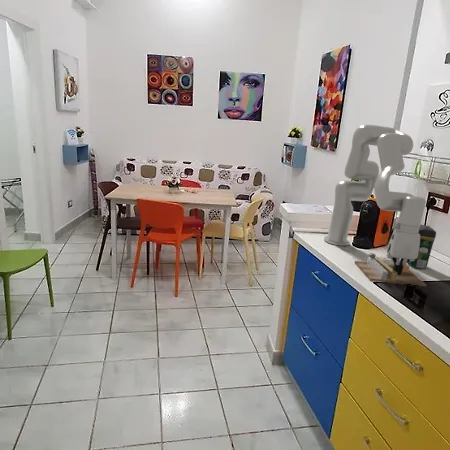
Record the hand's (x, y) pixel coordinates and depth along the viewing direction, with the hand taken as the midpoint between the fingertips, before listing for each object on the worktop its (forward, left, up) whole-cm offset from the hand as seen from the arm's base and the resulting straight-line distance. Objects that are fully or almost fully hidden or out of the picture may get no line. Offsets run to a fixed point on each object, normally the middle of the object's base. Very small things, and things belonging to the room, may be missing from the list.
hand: (396, 273), depth 138 cm
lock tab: (-7, +6, -2) cm, 10 cm away
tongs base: (-5, -6, -2) cm, 8 cm away
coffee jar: (-21, +19, -3) cm, 29 cm away
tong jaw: (-4, -3, -2) cm, 6 cm away
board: (-6, 0, -3) cm, 7 cm away
